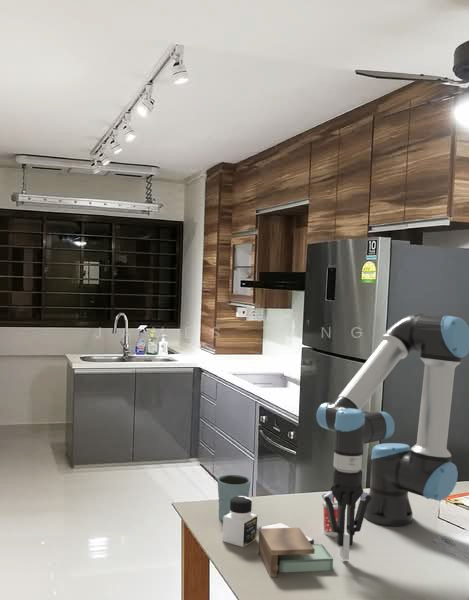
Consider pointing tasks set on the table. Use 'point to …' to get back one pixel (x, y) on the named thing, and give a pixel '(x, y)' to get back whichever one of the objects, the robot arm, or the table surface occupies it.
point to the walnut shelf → (281, 546)
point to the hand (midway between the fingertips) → (344, 557)
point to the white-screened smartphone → (281, 525)
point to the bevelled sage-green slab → (306, 561)
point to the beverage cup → (327, 528)
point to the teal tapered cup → (231, 491)
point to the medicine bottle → (240, 522)
